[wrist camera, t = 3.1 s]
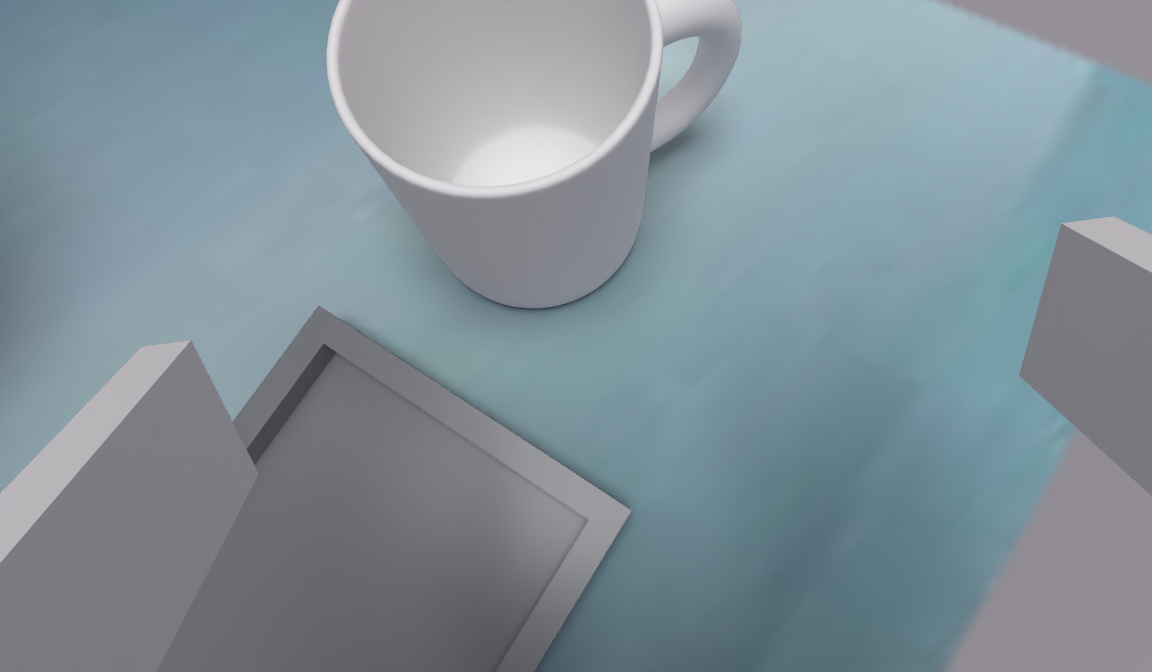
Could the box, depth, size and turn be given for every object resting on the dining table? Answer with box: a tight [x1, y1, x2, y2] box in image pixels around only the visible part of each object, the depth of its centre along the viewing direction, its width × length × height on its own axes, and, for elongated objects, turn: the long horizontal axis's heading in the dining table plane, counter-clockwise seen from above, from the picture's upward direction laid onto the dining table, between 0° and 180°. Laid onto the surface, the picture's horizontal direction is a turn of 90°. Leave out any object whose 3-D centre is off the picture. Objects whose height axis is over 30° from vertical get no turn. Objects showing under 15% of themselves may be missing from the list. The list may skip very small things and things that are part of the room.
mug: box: [327, 0, 742, 308], centre depth 21 cm, size 12×8×10 cm
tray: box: [157, 306, 632, 672], centre depth 22 cm, size 13×17×2 cm
